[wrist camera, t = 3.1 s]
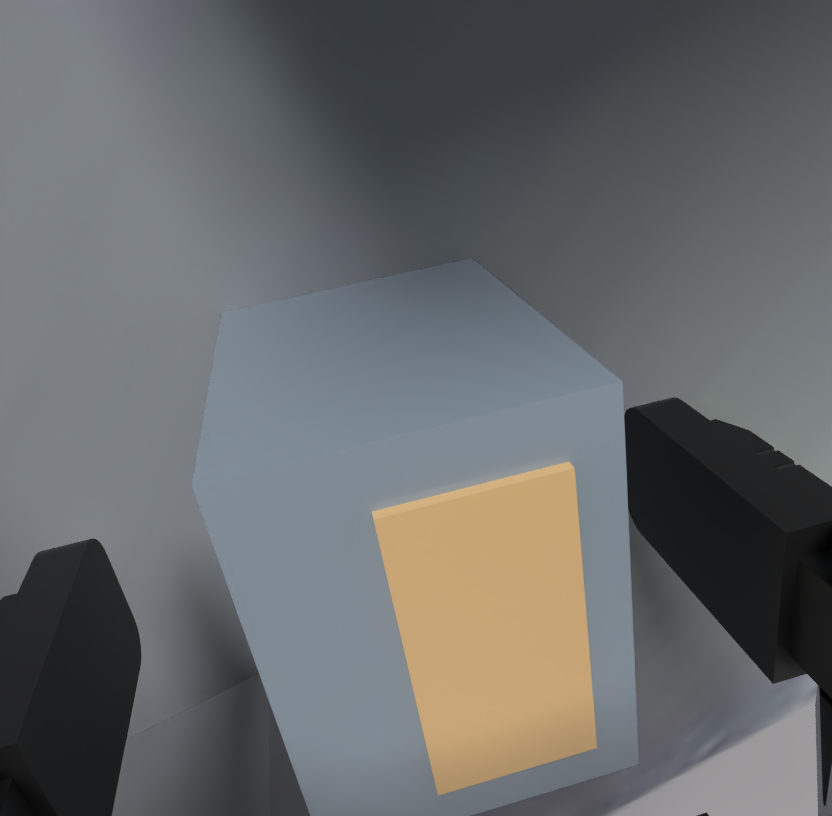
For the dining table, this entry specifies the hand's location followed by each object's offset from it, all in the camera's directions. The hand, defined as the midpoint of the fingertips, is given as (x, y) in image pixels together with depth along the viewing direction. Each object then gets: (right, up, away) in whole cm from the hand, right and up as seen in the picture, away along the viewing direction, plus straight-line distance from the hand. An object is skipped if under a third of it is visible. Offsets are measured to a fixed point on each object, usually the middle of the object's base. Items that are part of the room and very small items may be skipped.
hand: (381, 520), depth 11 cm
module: (0, +1, +3) cm, 3 cm away
